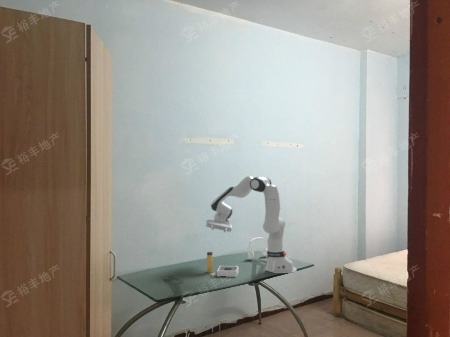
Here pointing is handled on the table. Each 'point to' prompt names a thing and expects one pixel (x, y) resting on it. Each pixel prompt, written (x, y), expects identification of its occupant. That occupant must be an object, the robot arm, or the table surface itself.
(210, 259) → the cylinder
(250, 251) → the headset
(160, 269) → the table surface
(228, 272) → the walled box
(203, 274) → the table surface
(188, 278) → the table surface
